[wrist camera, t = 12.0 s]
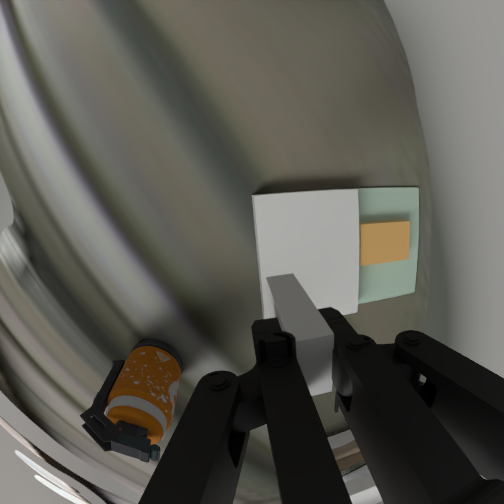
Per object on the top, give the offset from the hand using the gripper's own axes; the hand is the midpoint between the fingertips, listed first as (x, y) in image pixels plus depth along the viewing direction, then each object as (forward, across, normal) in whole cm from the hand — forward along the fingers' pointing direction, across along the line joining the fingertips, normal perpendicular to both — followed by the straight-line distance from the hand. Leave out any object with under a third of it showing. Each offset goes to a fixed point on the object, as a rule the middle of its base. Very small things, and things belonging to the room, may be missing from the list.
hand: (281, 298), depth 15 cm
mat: (+23, +21, -5) cm, 32 cm away
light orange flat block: (+23, +20, -4) cm, 30 cm away
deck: (+23, +8, -5) cm, 25 cm away
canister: (+23, -19, -19) cm, 35 cm away
